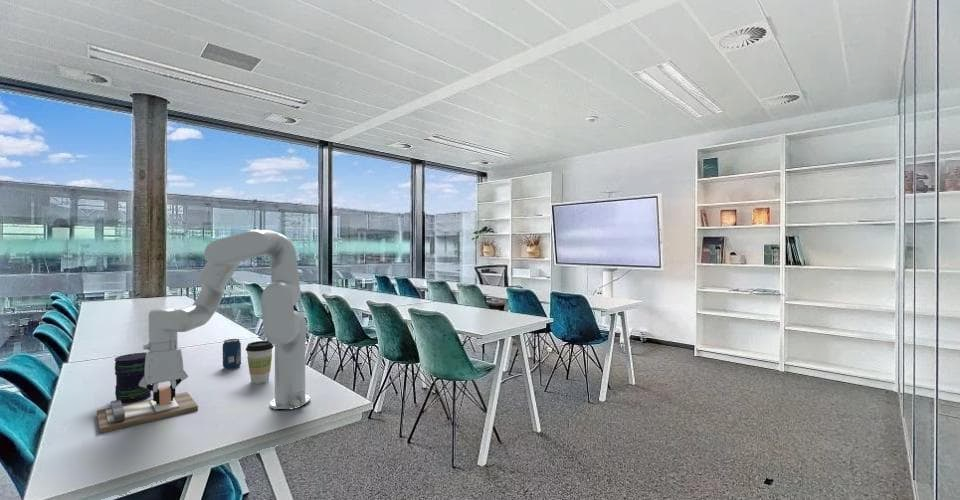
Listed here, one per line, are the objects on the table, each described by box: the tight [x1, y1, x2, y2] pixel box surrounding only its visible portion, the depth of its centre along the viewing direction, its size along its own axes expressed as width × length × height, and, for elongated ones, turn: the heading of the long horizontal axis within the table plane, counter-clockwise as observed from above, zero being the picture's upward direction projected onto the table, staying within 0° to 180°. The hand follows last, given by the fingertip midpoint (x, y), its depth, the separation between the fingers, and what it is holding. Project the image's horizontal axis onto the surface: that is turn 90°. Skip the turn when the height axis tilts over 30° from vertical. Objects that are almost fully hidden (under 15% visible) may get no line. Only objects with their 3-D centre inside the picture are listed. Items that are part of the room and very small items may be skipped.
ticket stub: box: [151, 385, 179, 412], centre depth 141 cm, size 12×6×5 cm, turn 44°
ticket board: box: [96, 391, 199, 434], centre depth 138 cm, size 18×24×4 cm
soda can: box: [222, 338, 242, 370], centre depth 186 cm, size 7×7×12 cm
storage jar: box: [114, 352, 152, 405], centre depth 150 cm, size 10×10×15 cm
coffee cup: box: [245, 340, 274, 384], centre depth 168 cm, size 10×10×15 cm
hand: (164, 400), depth 141 cm, fingers closed on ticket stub, 3 cm apart
